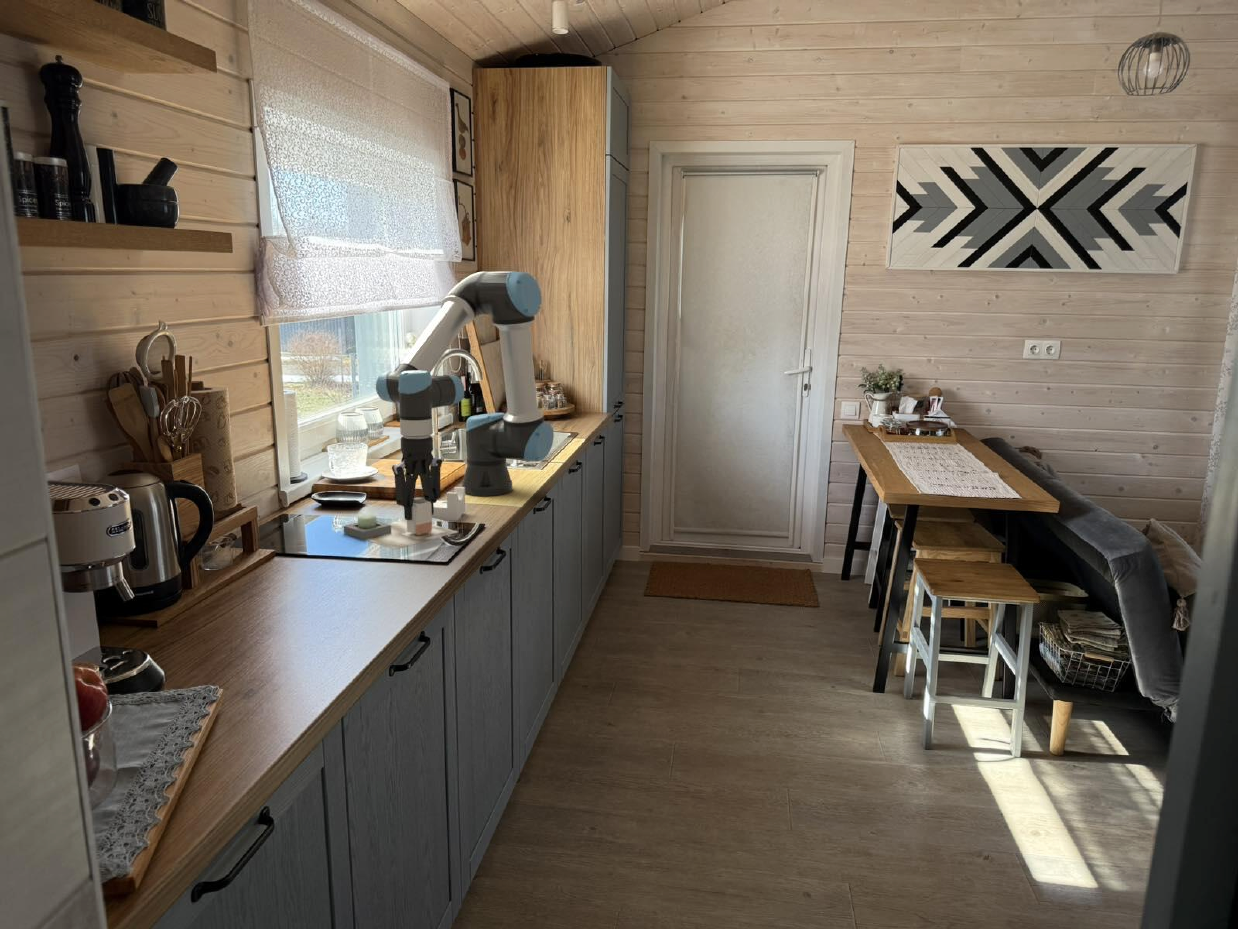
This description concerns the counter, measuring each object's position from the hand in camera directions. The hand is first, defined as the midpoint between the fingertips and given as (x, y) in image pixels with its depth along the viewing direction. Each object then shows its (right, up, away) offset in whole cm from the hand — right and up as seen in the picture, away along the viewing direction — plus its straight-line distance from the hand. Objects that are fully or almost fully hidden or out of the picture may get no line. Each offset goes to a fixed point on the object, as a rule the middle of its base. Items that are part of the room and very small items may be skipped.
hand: (419, 530), depth 211 cm
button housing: (-13, -1, 0) cm, 13 cm away
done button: (-13, +1, 0) cm, 13 cm away
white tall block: (0, 0, 0) cm, 0 cm away
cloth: (-4, -2, +1) cm, 5 cm away
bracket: (0, +2, +20) cm, 20 cm away
